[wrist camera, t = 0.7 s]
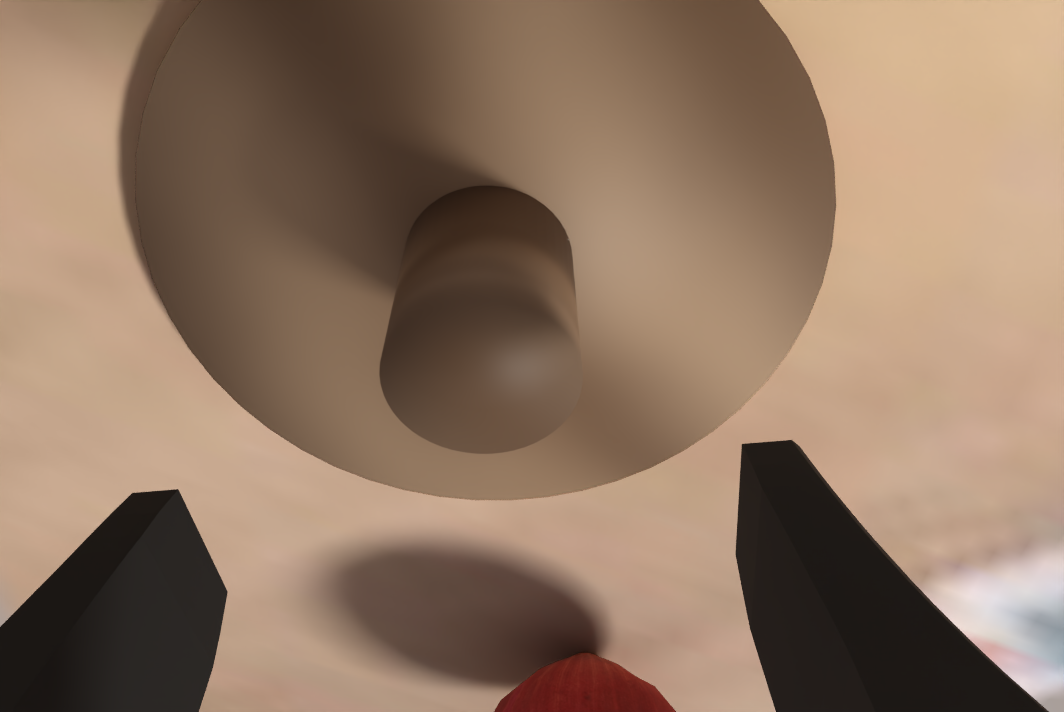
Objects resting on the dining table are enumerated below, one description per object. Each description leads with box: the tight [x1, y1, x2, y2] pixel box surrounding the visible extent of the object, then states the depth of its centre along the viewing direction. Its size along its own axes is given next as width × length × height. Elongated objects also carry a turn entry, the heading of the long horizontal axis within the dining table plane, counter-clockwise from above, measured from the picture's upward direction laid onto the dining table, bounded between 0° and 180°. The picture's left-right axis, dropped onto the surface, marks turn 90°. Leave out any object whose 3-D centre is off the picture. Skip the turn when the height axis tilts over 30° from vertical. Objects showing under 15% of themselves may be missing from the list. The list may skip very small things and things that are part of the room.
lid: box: [135, 0, 836, 500], centre depth 15 cm, size 13×13×4 cm
